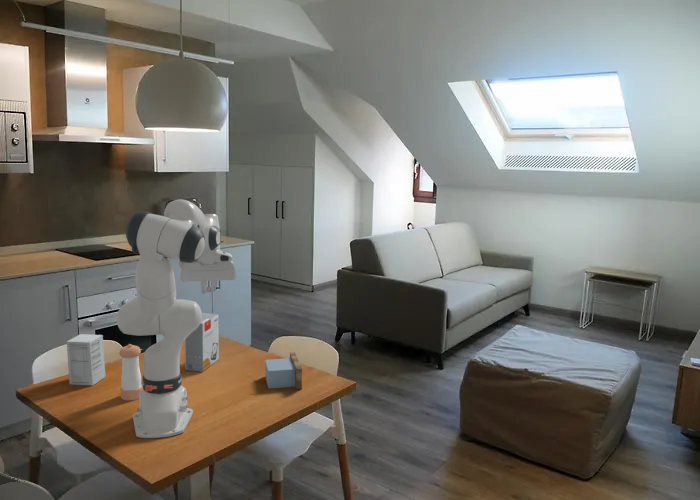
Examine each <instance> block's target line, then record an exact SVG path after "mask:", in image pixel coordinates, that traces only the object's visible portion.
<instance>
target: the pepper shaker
mask: <svg viewBox="0 0 700 500" xmlns="http://www.w3.org/2000/svg"><path fill="white" fill-rule="evenodd" d="M141 352H142V350H141V348H140V346H138V345H134V344H131V343H128V344H127V345H126V346H122V347H121V348H120V350H119V356H120V357H121V363H122V370H121V377H120V381H121V387H120V398H121V400H123V401H136V400H138V399H139V392H140V391H141V390H142V389H143V384H142V374H141V370H140V362H139V361H140V359H139V356H140V355H141Z"/></svg>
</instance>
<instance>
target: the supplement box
mask: <svg viewBox="0 0 700 500" xmlns="http://www.w3.org/2000/svg"><path fill="white" fill-rule="evenodd" d="M103 337H104V335H103V334H83V333H80V334H78V335H76V336H74V337H72V338H71V339H69V340H67V341H66V351H67V363H68V364H67V367H68V379H69V380H68V383H69V385H75V386H91V387H92V386H95V384H97V383H98V382H100V381H101V380H103V379H104V378H106V368H105V367H106V366H105V351H104V338H103Z"/></svg>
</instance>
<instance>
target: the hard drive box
mask: <svg viewBox="0 0 700 500" xmlns="http://www.w3.org/2000/svg"><path fill="white" fill-rule="evenodd" d="M219 318H220V317H219V314H217V313H208V312H207V313H206V312H202V320H201V323H200V325H199V327H198V328H197V329H196V330H195V331H193V332H192V333H191V334H190V335H189V336H188V337H187V338H186V340H185V341H184V343H185V347H184V348H185V352H184V354H185V356H184V357H185V362H184V363H185V370H186V371H192V372H199V373H200V372H204V371H206V370H207V369H209V367H211V366H212V365H214V364H215V363H216V362H218V361H219V359H220V358H219V354H220V352H219V350H220V349H219V348H220V345H219V342H220V340H219V336H220V335H219V331H220V329H219V328H220V327H219V326H220V325H219Z"/></svg>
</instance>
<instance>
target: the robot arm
mask: <svg viewBox="0 0 700 500" xmlns="http://www.w3.org/2000/svg"><path fill="white" fill-rule="evenodd" d="M220 229H221V228H220V222H219V216H218V214H217V213H211V212H203V211H202V209H200V208H199V207H198V206H197V205H196V204H195V203H193V202H191V201H190V200H187V199H174V200H173V201H171V202H169V203H168V204H167V206H166V207H165V209H164V212H163V215H160V214H154V213H152V212H150V211H137V212H135V213H134V214H133V215H132V216H131V217H130V218H129V220H128V222H127V225H126V228H125V237H126V241H127V244H128V245H129V246H130V247H131V251H132V253H133V254H135V255H138V254H139V256H140V258H139V260H138V262H137V264H136V267H135V268H136V269H135V278H134V280H135V281H134V282H135V289H136V297H134V298H133V299H132V300H130V301H128V302H127V303H124V304H123V305H121V307H119V310H118V311H117V314H116V324H117V327H118V329H119V331H121V332H122V333H123V334H124V335H125V334H126V335H131V336H138V337H140V336H154V335H155V336H157V335H161V336H163V337H162V339H161V340H160V341H157V342H156V343H154V344H152V345H151V346H149V347H148V348H147V349H146V350H145V351H144V353H143V376H142V381H141V384H142V387H143V389H142V390H141V391H140V392H139V407H137V412H135V413H134V414H132V422H133V426H134V431H135V432H134V433H135V436H136V437H137V438H140V439H160V438H167V437H174V436H177V435H180V434H183V433H184V431H185V430H186V428H187V426H188V424H189V422H190V421H191V418H192V416H193V414H194V410H193V408H189V407H188V397H187V396H188V395H187V394H188V393H187V388H186V387H184V386H183V384H182V380H183V379H182V378H183V377H182V372H181V370H180V367H181V366H180V362H181V352H182V348H183V345H184V343H185V340H186V338H187V337H188V336H189V335H190V334H191V333H192V332H193V331H195V330H196V329H197V328H198V327H199V325H200V323H201V320H202V313H203V312H202V308H201V306H200V305H199V304H198V303H197V302H196V301H194V300H189V299H182V298H179V299H178V298H177V284H176V275H175V273H174V269H173V266H172V264H171V262H170V259H171V260H175V261H178V265H179V268H180V280H181V282H183V283H184V282H201V285H202V287H203V288H204V293H213V292H214V291H213V290H214V287H215V285H216V282H217V281H218V282H219V281H235V279H236V278H237V275H236V274H237V272H236V267H235V266H236V265H235V263H234V261H233V255H232V254H231V253H230V252H226V251H222V250H221V242H222V231H221V230H220ZM208 281H209V282H211V286H206V282H208Z"/></svg>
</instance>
